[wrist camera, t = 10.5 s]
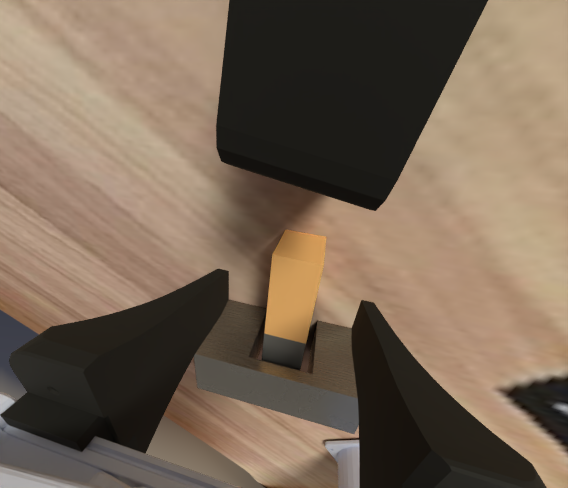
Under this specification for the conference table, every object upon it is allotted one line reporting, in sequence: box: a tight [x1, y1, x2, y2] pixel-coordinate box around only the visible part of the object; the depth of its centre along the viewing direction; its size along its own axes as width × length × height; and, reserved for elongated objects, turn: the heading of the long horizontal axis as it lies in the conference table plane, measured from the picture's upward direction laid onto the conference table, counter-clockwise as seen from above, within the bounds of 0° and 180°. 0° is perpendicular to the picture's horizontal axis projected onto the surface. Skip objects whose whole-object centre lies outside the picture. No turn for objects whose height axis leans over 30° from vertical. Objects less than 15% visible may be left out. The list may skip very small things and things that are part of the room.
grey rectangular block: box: [194, 300, 359, 434], centre depth 18 cm, size 4×12×6 cm, turn 84°
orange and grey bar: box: [262, 230, 326, 371], centre depth 17 cm, size 13×3×4 cm, turn 174°
